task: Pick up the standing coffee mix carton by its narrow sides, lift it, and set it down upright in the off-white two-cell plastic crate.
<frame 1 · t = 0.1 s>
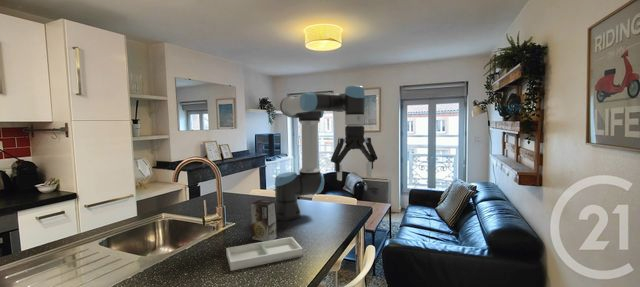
hand: (354, 178, 117), 28 cm above the countertop, tool pointing down, fingers open, 13 cm apart
coffee box: (264, 238, 129), on the countertop
cell crate: (264, 255, 112), on the countertop
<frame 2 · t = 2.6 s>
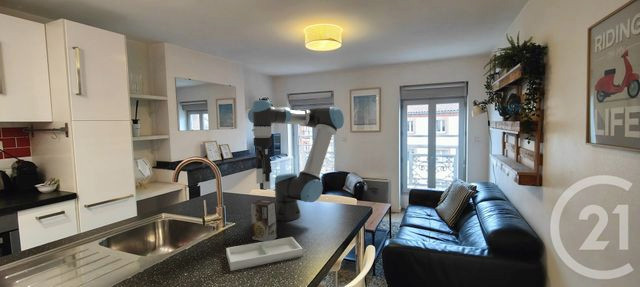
hand: (263, 186, 127), 23 cm above the countertop, tool pointing down, fingers open, 13 cm apart
nothing on the countertop moved.
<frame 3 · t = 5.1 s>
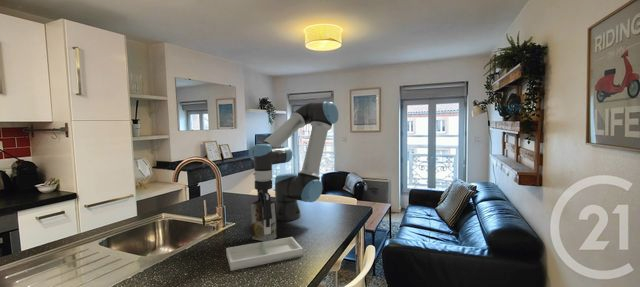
hand: (264, 229, 128), 4 cm above the countertop, tool pointing down, fingers closed on coffee box, 11 cm apart
coffee box: (264, 238, 129), on the countertop, touching gripper
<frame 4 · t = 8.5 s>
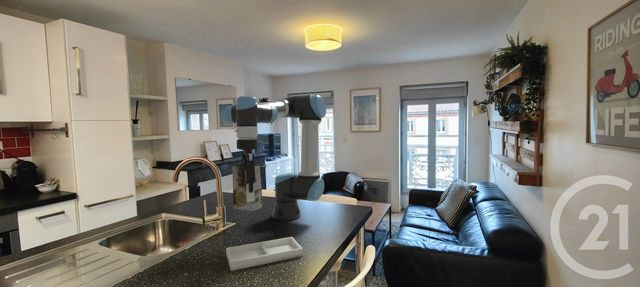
hand: (247, 197, 110), 23 cm above the countertop, tool pointing down, fingers closed on coffee box, 11 cm apart
coffee box: (247, 208, 110), point 19 cm above the countertop, touching gripper
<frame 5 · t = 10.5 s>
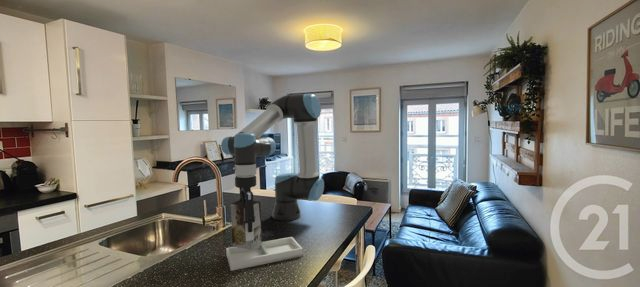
hand: (246, 234, 108), 9 cm above the countertop, tool pointing down, fingers closed on coffee box, 11 cm apart
coffee box: (246, 245, 109), point 5 cm above the countertop, touching gripper
when the fingers open (6 cm above the countertop, at t = 12.0 s): coffee box drops 1 cm, resting on cell crate.
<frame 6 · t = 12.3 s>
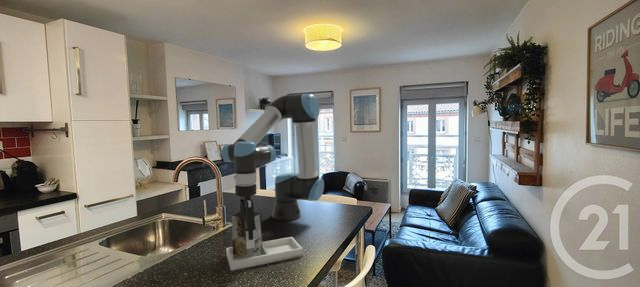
hand: (247, 240, 108), 7 cm above the countertop, tool pointing down, fingers open, 13 cm apart
coffee box: (247, 257, 109), point 1 cm above the countertop, touching cell crate
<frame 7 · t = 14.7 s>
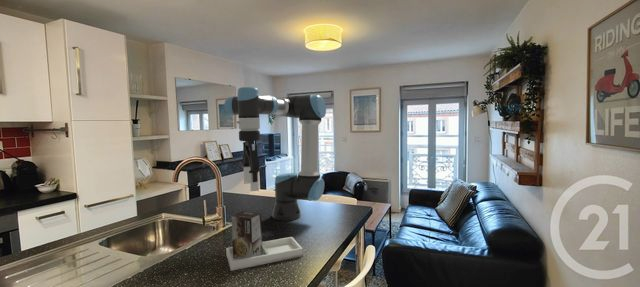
hand: (251, 186, 110), 27 cm above the countertop, tool pointing down, fingers open, 13 cm apart
nothing on the countertop moved.
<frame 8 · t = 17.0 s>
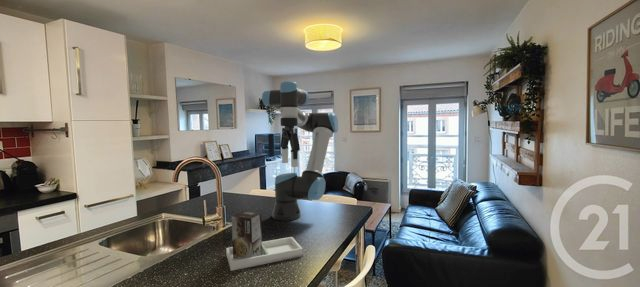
hand: (289, 164, 131), 32 cm above the countertop, tool pointing down, fingers open, 13 cm apart
nothing on the countertop moved.
at the end: coffee box 0.2 cm from the target spot on the cell crate, point 0.6 cm above the cell crate's base; coffee box tilted 0°; the gripper is holding nothing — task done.
